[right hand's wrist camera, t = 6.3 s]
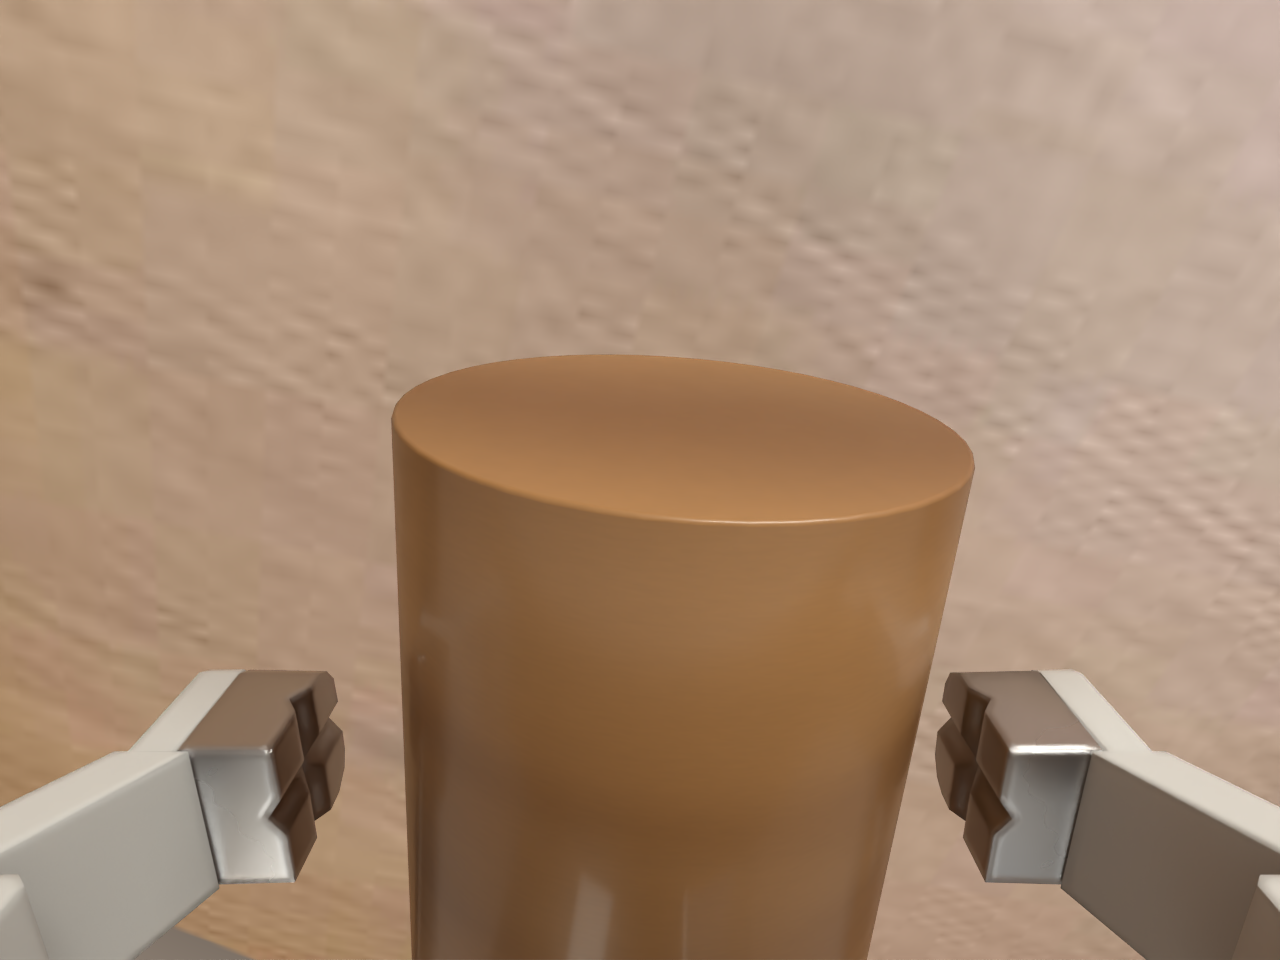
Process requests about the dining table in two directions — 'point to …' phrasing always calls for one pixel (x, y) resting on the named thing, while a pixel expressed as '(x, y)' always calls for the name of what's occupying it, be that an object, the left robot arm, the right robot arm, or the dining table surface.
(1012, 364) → the dining table surface
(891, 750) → the rod
